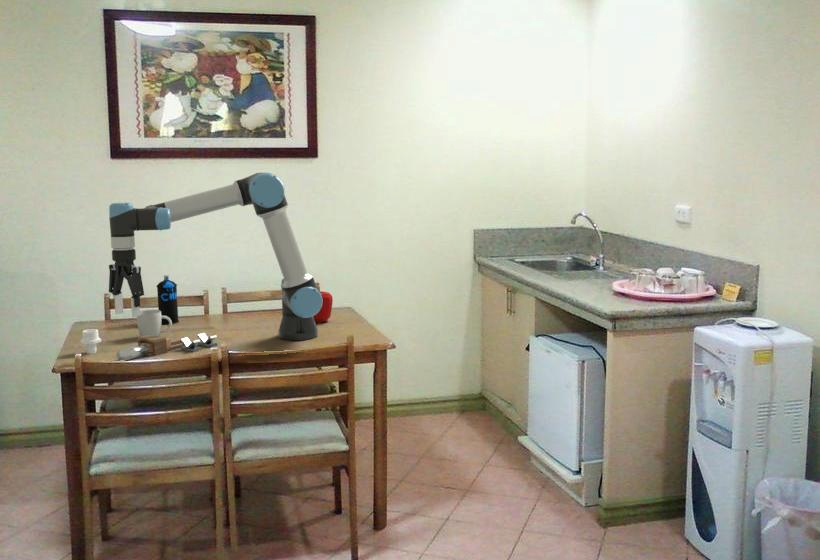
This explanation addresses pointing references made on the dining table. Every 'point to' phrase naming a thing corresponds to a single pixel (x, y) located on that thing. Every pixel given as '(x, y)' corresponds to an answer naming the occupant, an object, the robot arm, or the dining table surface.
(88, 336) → the pipe fitting
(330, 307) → the red bell pepper
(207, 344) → the v block
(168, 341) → the brown wooden block
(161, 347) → the beam
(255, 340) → the dining table surface
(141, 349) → the grey elongated lump
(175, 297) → the aerosol can
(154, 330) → the mug
